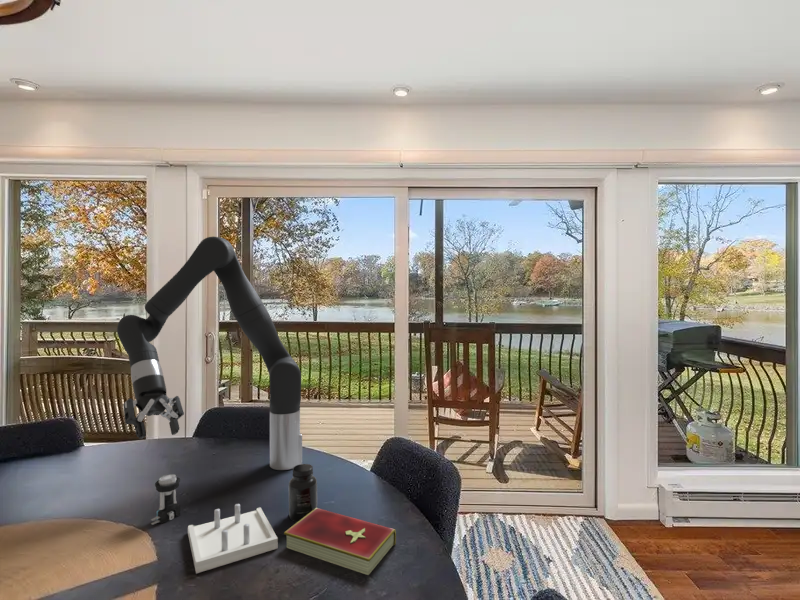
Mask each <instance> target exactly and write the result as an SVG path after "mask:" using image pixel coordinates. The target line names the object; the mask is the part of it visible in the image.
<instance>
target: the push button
mask: <svg viewBox="0 0 800 600" xmlns="http://www.w3.org/2000/svg"><path fill="white" fill-rule="evenodd" d="M180 482H181V479H180V477H178V476H176V474H173V473H172V474H170V473H169V474H164V475H162V476H161V477H159V479H158V480H157V481H156V482H155V483H154V486H155V490H156V491H157V492H158V493H159V507H158V510H156V511H155V512H156V516H155V517H153V518H151V519H150V521H152V522H151V523H150V524H151V525H155V524H157V523H160V524H163V523H167V521H168V522H169V521H171V520H174V519H175V518H176V517H180V516H181V505H180V504H178V503H177V497H176V496H177V493H176V492H177V489H178V488H179V487H180Z"/></svg>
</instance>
